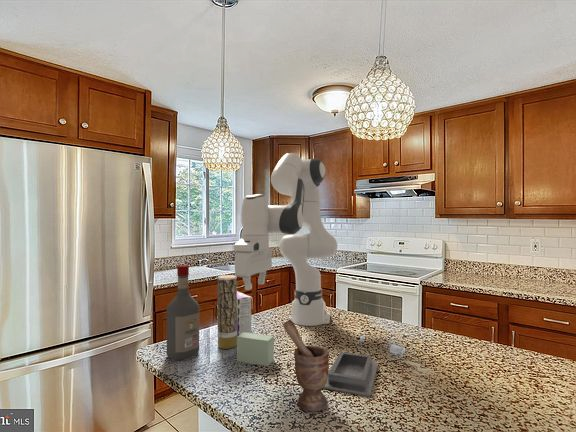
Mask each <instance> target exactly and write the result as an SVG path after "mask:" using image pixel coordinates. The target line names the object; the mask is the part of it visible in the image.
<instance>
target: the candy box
mask: <svg viewBox="0 0 576 432" xmlns="http://www.w3.org/2000/svg"><path fill="white" fill-rule="evenodd" d="M243 332H245V333H252V296H251V295H247V294H245V293H243V292H240V291H238V290H237V336H239V335H240V334H242V333H243Z"/></svg>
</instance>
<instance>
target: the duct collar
mask: <svg viewBox="0 0 576 432" xmlns="http://www.w3.org/2000/svg"><path fill="white" fill-rule="evenodd" d="M378 366H379V362H375V361H373V355H366V354H358V353H350V352H344V351H340V352H339V354H338V356H337V357H335V359H334V362H333V363H332V365H331V366H330V368H329V372H328V378H327V382H326V384H325V385H324V387H323V388H322V390H323V389H324V390H329V391H334V392H341V393H346V394H353V395H358V396H363V397H368V398H369V397H370V398H371V396H372V392H373V387H374V383H375V379H376V375H377V371H378Z"/></svg>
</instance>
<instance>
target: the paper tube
mask: <svg viewBox="0 0 576 432" xmlns="http://www.w3.org/2000/svg"><path fill="white" fill-rule="evenodd" d="M237 281H238V277H237V276H236V275H234V274H229V275H228V274H225V275H224V274H223V275H219V276H217V346H218V348H219V349H223V350H230V349H233V348H235V347H237V291H238V288H237V287H238V282H237Z"/></svg>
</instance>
